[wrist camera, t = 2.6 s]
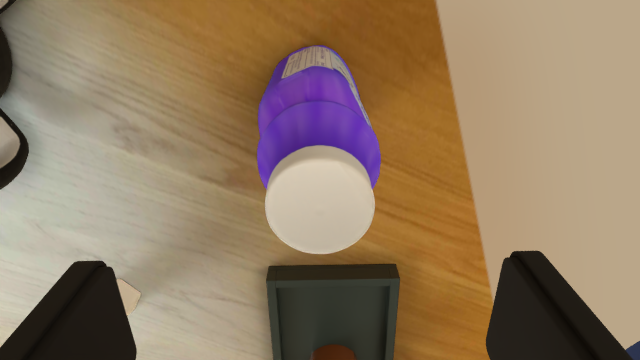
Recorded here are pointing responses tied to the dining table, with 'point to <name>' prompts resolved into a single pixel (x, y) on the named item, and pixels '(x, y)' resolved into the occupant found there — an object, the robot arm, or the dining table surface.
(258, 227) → the dining table surface
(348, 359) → the middle bottle
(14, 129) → the mug
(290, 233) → the bottle
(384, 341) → the tray
